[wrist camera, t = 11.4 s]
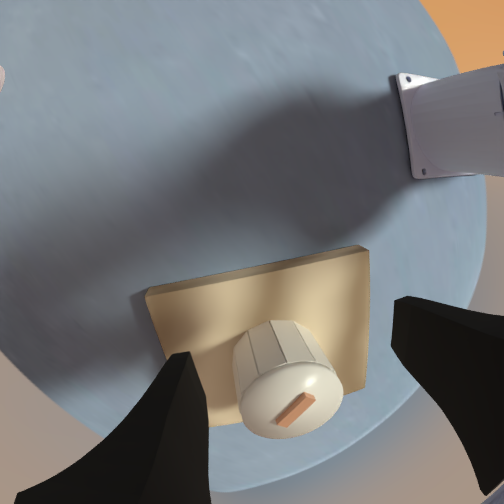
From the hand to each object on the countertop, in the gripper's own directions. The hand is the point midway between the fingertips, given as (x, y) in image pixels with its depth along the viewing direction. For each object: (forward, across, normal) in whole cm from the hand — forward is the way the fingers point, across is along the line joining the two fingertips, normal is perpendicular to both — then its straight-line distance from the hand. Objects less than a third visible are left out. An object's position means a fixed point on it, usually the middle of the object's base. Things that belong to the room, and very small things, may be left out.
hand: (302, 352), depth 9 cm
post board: (+9, 0, +6) cm, 11 cm away
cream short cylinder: (+8, 0, +6) cm, 10 cm away
